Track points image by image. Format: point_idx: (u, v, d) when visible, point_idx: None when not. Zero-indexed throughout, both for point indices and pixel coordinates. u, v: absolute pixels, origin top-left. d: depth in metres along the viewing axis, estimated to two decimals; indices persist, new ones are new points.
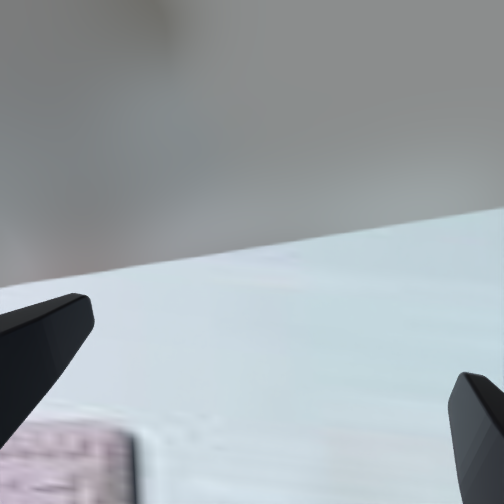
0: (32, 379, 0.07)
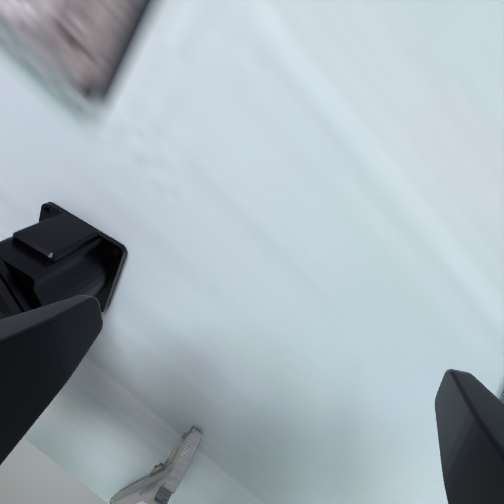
0: (42, 382, 0.07)
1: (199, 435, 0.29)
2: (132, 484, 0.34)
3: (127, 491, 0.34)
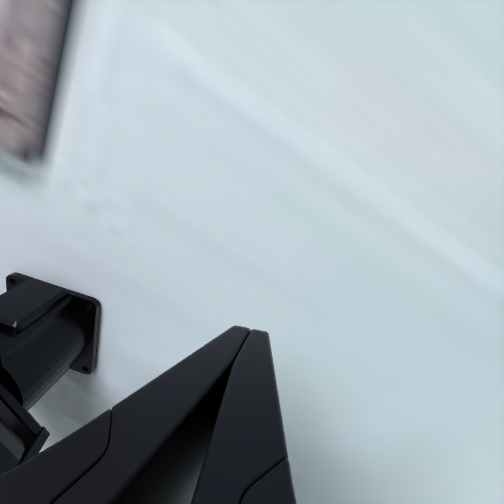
0: None
1: None
2: None
3: None
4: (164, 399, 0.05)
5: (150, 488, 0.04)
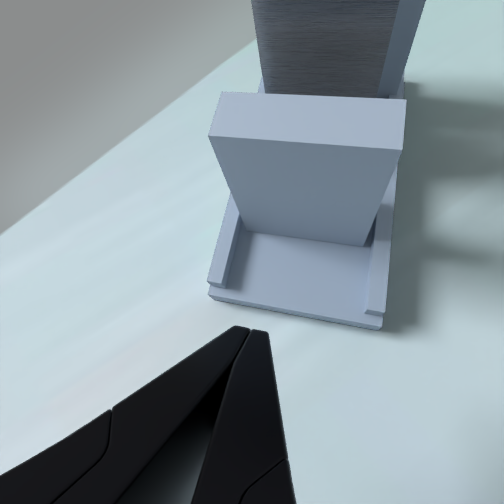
0: None
1: None
2: None
3: None
4: (164, 399, 0.05)
5: (150, 488, 0.04)
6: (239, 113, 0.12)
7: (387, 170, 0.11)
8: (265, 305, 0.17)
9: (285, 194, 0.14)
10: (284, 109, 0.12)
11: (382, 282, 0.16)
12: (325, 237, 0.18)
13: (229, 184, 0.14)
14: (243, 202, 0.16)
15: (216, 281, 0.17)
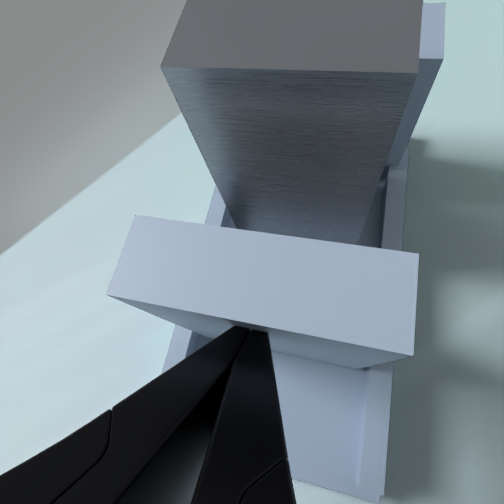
0: None
1: None
2: None
3: None
4: (164, 399, 0.05)
5: (150, 488, 0.04)
6: (156, 257, 0.08)
7: (387, 357, 0.07)
8: None
9: None
10: (225, 256, 0.07)
11: (380, 446, 0.12)
12: (306, 357, 0.13)
13: (165, 319, 0.10)
14: (191, 328, 0.12)
15: None
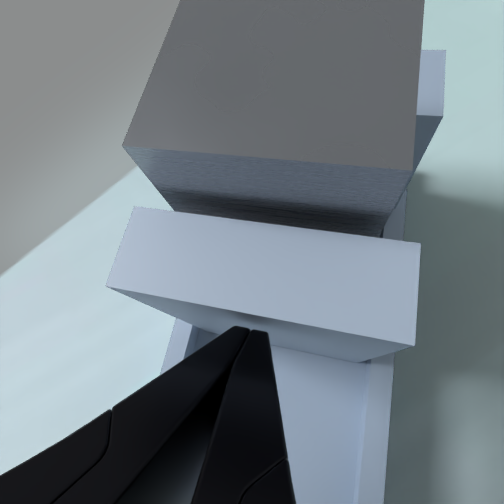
0: None
1: None
2: None
3: None
4: (164, 399, 0.05)
5: (150, 488, 0.04)
6: (156, 248, 0.07)
7: (389, 348, 0.07)
8: None
9: None
10: (224, 246, 0.07)
11: None
12: (306, 351, 0.13)
13: (165, 312, 0.10)
14: (192, 321, 0.12)
15: None
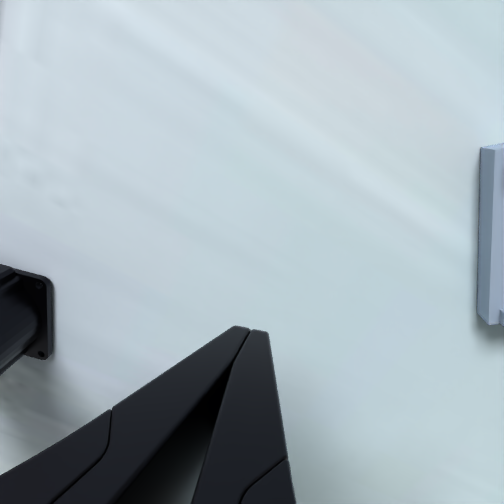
0: None
1: None
2: None
3: None
4: (164, 399, 0.05)
5: (150, 488, 0.04)
6: None
7: None
8: (491, 219, 0.16)
9: None
10: None
11: None
12: None
13: None
14: None
15: None
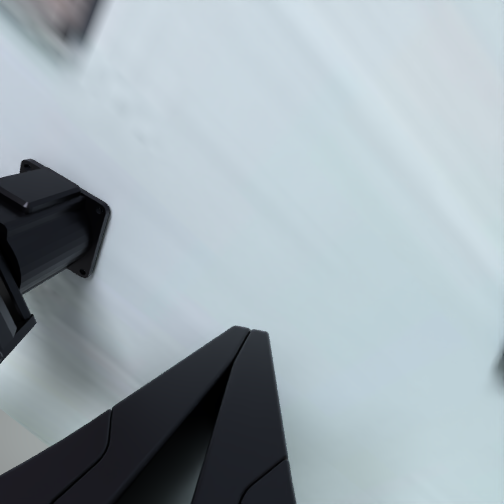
0: None
1: None
2: None
3: None
4: (164, 399, 0.05)
5: (150, 488, 0.04)
6: None
7: None
8: None
9: None
10: None
11: None
12: None
13: None
14: None
15: None
